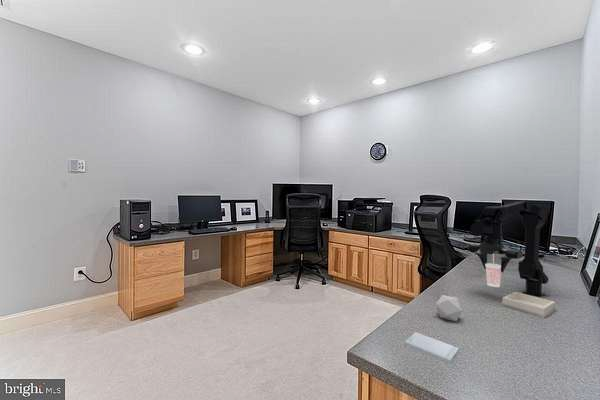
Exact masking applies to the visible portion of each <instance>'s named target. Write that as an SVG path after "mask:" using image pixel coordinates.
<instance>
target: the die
mask: <svg viewBox="0 0 600 400" xmlns="http://www.w3.org/2000/svg"><path fill="white" fill-rule="evenodd" d="M435 307H436V309H437V312H438V314H439V317H440V318H441V319H444V320H448V321H452V322H458V320H459V318H460V316H461V315H462V313H463V309H462V305H461V303H460V301H459V299H458V297H456V296H449V295H446V294H445V295H444V294H442V295H441V296H440V297H439V299H438V300H437V302H436V303H435Z"/></svg>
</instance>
